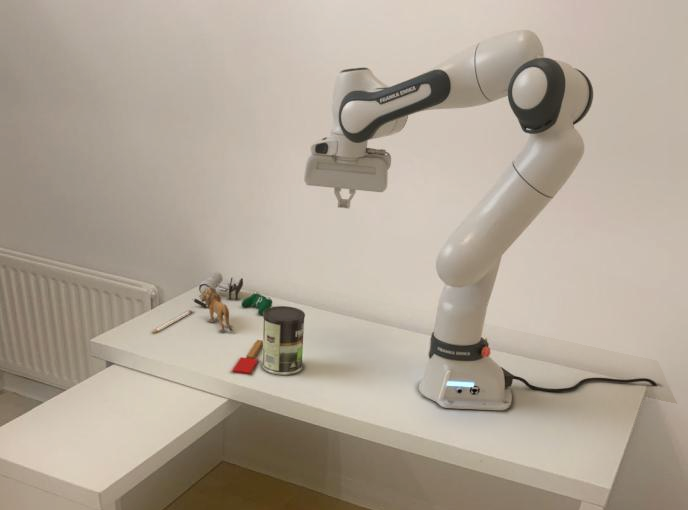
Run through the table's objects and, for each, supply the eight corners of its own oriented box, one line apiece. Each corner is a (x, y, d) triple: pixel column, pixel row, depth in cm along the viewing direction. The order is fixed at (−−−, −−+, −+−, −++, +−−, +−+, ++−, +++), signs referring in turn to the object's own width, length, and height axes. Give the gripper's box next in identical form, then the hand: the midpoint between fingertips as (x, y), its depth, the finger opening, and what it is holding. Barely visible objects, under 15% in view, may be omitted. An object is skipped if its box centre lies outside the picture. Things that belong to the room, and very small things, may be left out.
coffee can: (306, 361, 194) (308, 308, 186) (297, 377, 186) (299, 323, 178) (267, 356, 196) (268, 303, 187) (257, 372, 187) (258, 317, 179)
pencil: (191, 312, 218) (191, 310, 218) (154, 334, 204) (154, 331, 204) (189, 312, 218) (189, 310, 218) (151, 333, 204) (151, 331, 204)
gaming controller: (266, 320, 221) (277, 303, 221) (259, 313, 217) (270, 296, 218) (246, 310, 226) (257, 294, 226) (239, 304, 223) (250, 287, 223)
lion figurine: (197, 317, 215) (196, 287, 210) (213, 314, 218) (213, 283, 212) (225, 335, 206) (224, 303, 200) (241, 331, 208) (241, 299, 203)
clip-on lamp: (221, 320, 222) (246, 289, 233) (220, 302, 217) (246, 271, 228) (185, 310, 224) (212, 280, 235) (184, 291, 219) (211, 261, 230)
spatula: (268, 345, 201) (268, 341, 201) (250, 374, 186) (250, 370, 185) (251, 343, 202) (251, 338, 201) (232, 372, 187) (232, 367, 186)
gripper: (393, 147, 178) (386, 208, 186) (309, 140, 181) (306, 200, 189) (390, 152, 173) (384, 214, 181) (304, 144, 176) (301, 206, 184)
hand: (343, 207), depth 185 cm, fingers closed
